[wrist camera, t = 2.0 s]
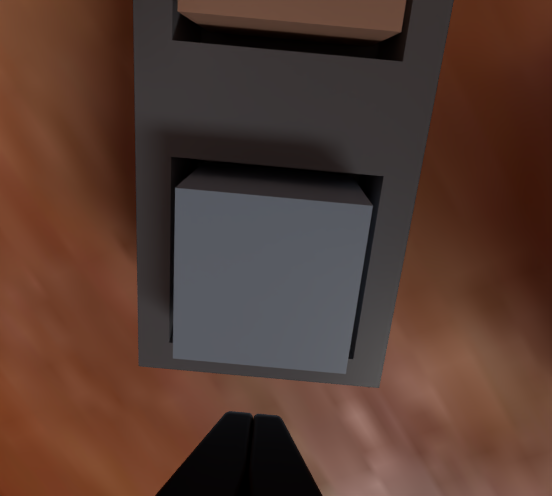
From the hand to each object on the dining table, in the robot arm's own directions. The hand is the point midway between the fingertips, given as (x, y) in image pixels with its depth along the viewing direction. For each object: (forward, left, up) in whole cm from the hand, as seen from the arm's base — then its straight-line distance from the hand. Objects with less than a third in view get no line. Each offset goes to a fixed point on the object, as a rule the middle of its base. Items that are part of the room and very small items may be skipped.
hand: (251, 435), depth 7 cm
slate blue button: (0, 0, -10) cm, 10 cm away
